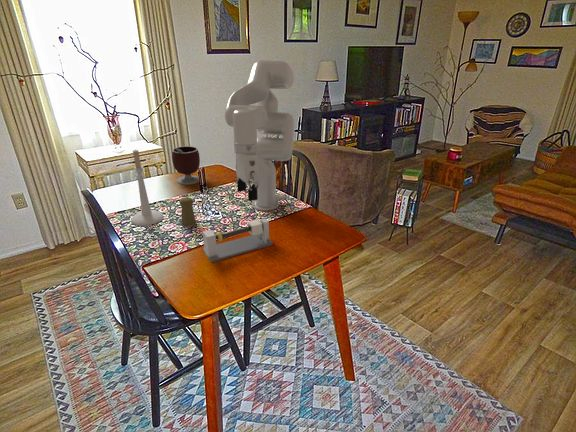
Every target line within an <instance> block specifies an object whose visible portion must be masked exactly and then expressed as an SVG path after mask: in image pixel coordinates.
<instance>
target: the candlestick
mask: <svg viewBox="0 0 576 432" xmlns="http://www.w3.org/2000/svg"><path fill="white" fill-rule="evenodd" d="M132 153H133V154H132V155H133V160H134V164H135V166H134V167H133V169H135V172H136V175H137V182H138V183H137V185H138V190H139V191H138V192H139V199H140V201H139V202H140V207H141V208H140V209H141V211H140V212H137V213H136V214H134V215H133V216H132V217H131V219H130V222H131V224H132V225H135V226H138V227H139V226H141V227H145V226H147V225H148V226H153V225H156V224H158V223H160V222H162V221H163V219H164V214H163V213H162V212H160V211H159V210H155V209H151V206H150V201H149V197H148V193H147V189H146V185H145V180H144V176H143V171H144V170H143V168H144V166H143V165H142V164H141V159H140V153H139V150H138V149H134V150H132ZM152 224H153V225H152Z"/></svg>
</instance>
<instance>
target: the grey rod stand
mask: <svg viewBox="0 0 576 432" xmlns="http://www.w3.org/2000/svg"><path fill="white" fill-rule="evenodd" d="M259 221H260V222H261V223H262V234H258V235H254V236H252V235H251V234H250V235H247V236H244V237H239V238H236V239H234V240H233V239H231V240H230V241H226V242H225V241H224V242H223V239H225V238H228V237H232V236H236V235H240V234H245V233H249V232H248V231H252V229H251V226H250V227H248V226H247V227H243V228H240V229H235V230H231V231H227V232H223V233H222V232H221V231H218V232H215V233H214V231H213V230H212V229H208V230H205V231H204V230H203V231H202V237H203V247H202V251H203V253H204V254H205V256H206V257H207V258H208V259H209V262H211V263H214V262H218V261H221V260H224V259H228V258H232V257H234V256H235V257H236V256H238V255H243V254H245V253H249V252H251V251H255V250H260V249H262V248H263V249H264V248H267V247H269V246H272V245H274V244H273V242H272V241H271V239H270V224H269V223H270V221H269V220H268V219H267V218H261V219H260V220H259ZM217 242H218V243H217ZM219 242H222V243H219Z"/></svg>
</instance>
